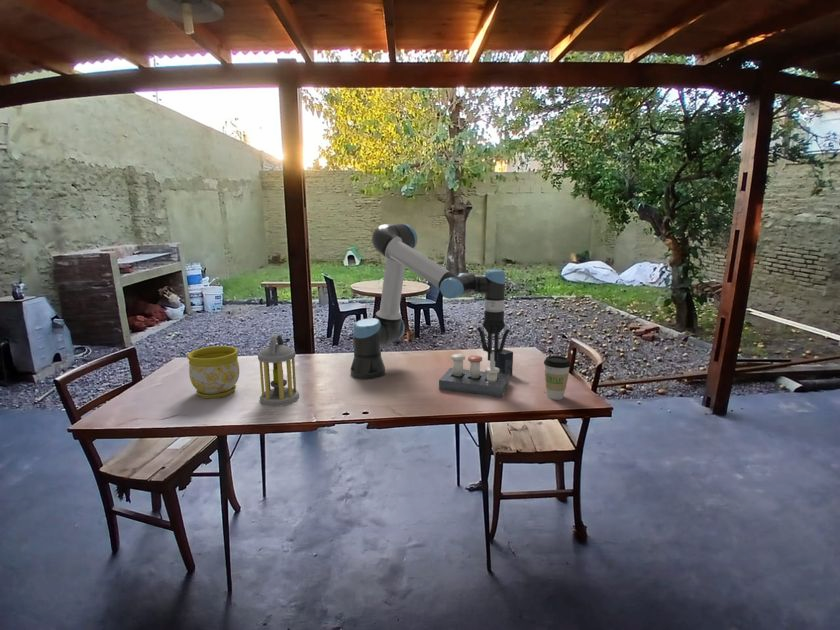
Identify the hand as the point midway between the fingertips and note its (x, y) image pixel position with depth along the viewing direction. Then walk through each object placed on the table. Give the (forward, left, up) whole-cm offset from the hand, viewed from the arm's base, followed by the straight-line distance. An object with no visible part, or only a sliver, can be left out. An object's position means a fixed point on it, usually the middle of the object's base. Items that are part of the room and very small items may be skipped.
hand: (492, 368), depth 187 cm
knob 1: (-14, 0, -4) cm, 15 cm away
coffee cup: (+24, 0, -9) cm, 26 cm away
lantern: (-74, -37, -9) cm, 83 cm away
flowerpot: (-101, -40, -9) cm, 109 cm away
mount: (-7, 0, -9) cm, 11 cm away
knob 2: (0, 0, -8) cm, 8 cm away
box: (0, +19, -9) cm, 21 cm away
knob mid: (-7, 0, -4) cm, 8 cm away
